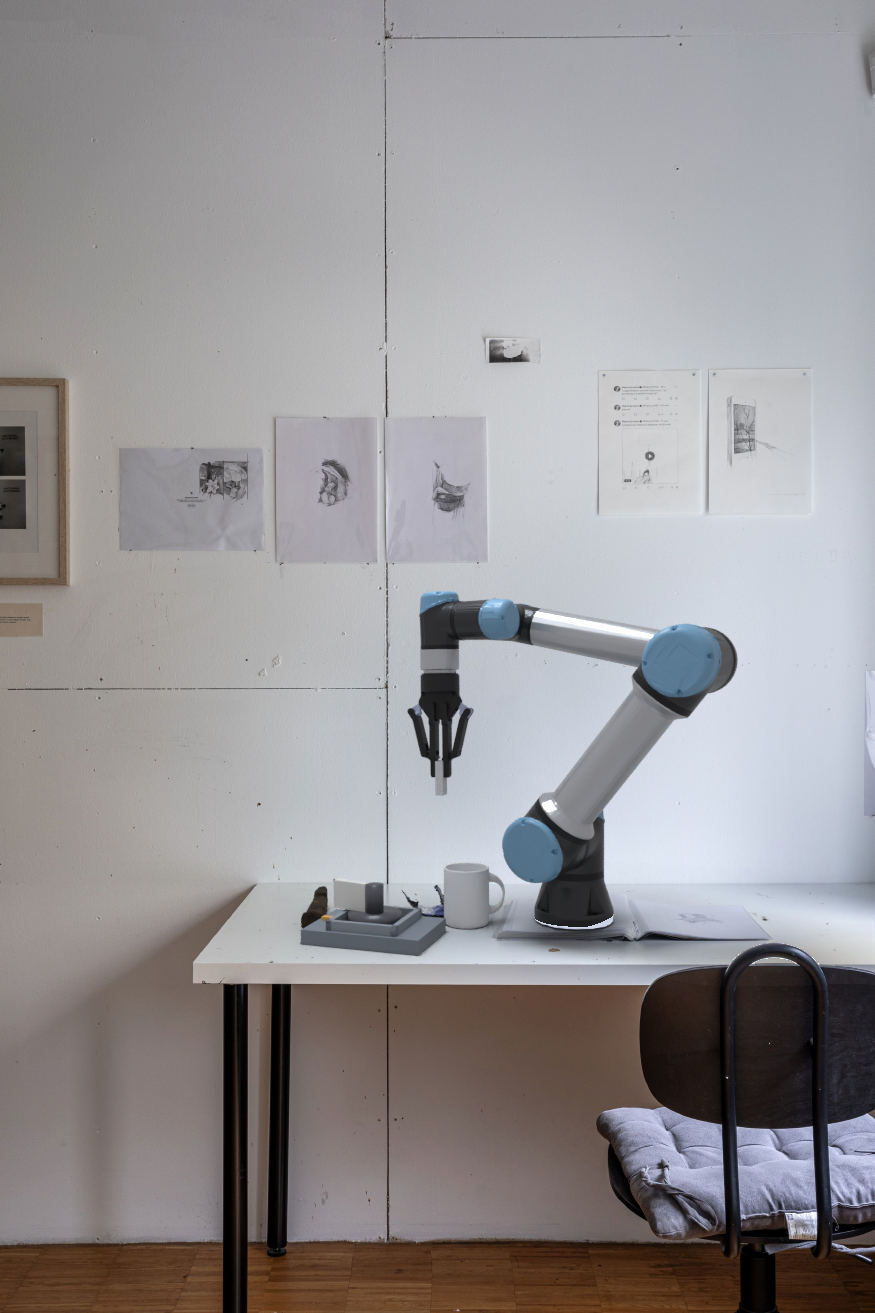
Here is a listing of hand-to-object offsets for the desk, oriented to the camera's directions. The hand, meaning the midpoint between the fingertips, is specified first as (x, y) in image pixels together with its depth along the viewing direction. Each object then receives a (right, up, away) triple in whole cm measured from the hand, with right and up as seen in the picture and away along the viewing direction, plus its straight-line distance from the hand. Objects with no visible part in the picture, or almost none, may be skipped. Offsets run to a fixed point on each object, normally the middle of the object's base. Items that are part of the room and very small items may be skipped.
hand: (441, 794), depth 180 cm
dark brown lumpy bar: (-25, -25, +3) cm, 35 cm away
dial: (-14, -21, -10) cm, 27 cm away
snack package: (-2, -25, +5) cm, 25 cm away
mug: (+6, -24, -2) cm, 25 cm away
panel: (-12, -24, -11) cm, 29 cm away
